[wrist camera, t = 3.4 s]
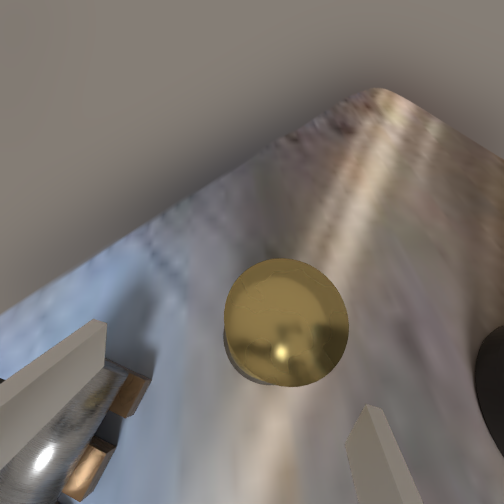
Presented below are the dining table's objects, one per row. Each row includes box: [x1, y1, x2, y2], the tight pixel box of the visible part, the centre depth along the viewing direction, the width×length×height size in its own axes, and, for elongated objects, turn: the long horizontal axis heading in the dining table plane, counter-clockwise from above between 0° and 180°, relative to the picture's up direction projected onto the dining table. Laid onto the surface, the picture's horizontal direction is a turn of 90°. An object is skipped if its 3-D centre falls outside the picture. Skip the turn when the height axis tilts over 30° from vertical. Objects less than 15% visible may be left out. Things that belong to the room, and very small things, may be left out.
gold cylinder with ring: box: [224, 258, 349, 387], centre depth 15 cm, size 5×5×12 cm
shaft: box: [0, 358, 152, 504], centre depth 15 cm, size 7×5×5 cm
